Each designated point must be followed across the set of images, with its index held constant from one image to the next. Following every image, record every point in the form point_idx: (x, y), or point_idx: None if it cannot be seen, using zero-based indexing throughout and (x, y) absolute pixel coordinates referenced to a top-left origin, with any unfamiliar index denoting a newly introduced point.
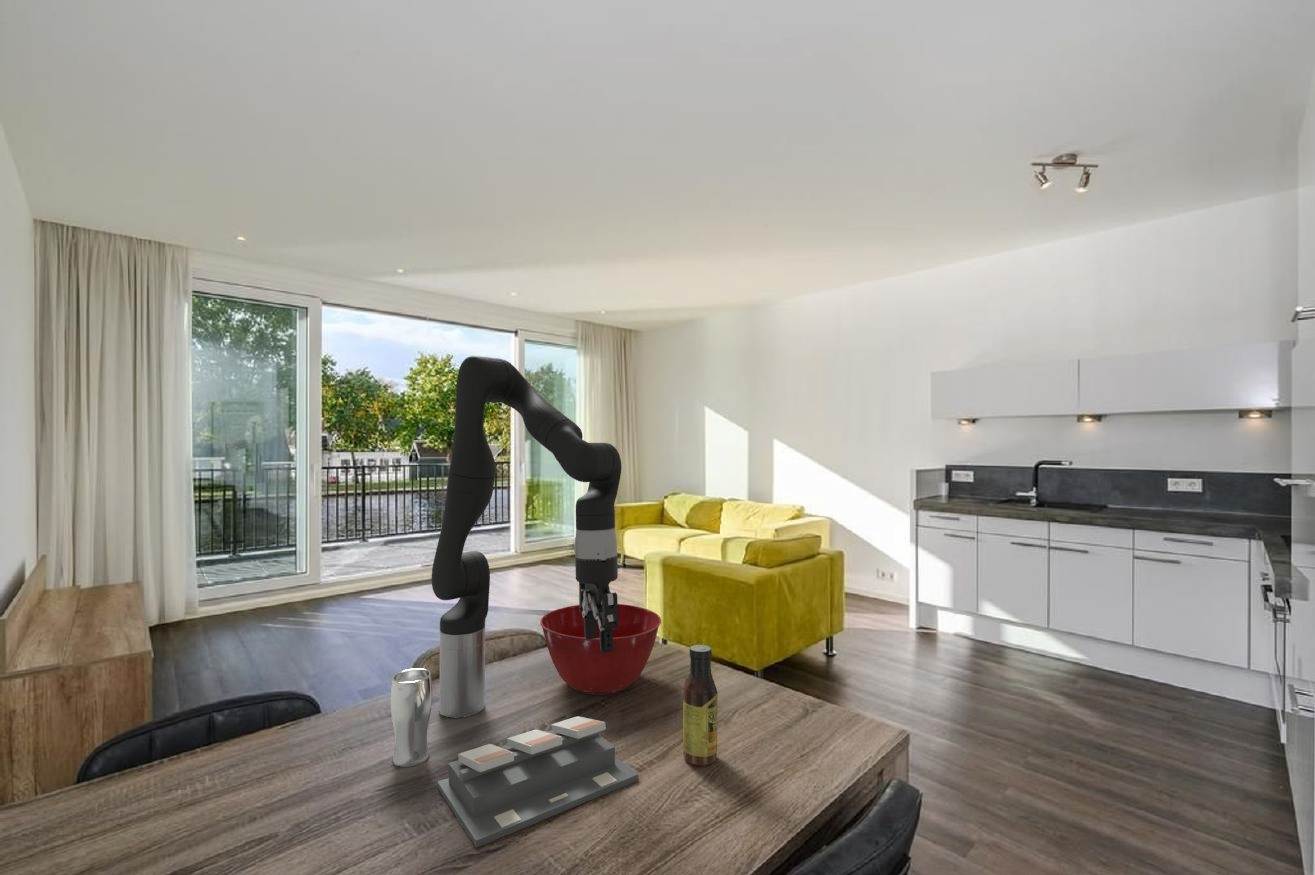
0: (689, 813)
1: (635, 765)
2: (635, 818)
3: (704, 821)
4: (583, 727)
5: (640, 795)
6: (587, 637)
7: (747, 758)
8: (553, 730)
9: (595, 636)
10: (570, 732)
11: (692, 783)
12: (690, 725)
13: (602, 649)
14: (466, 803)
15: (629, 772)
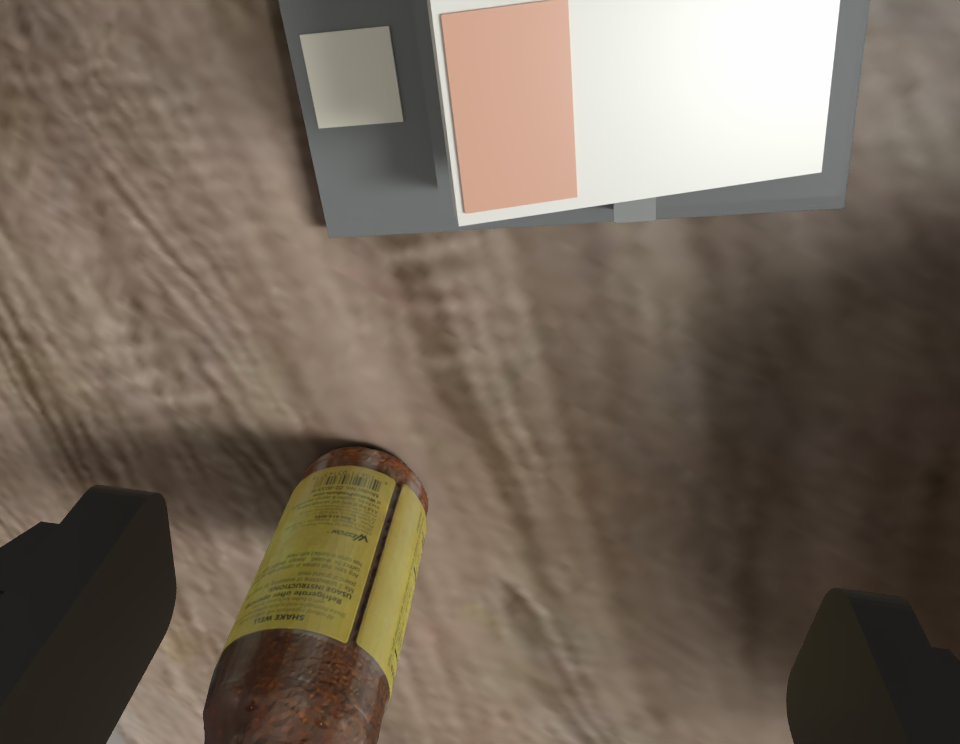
0: (66, 273)
1: (449, 277)
2: (90, 78)
3: (11, 289)
4: (468, 68)
5: (232, 179)
6: (837, 617)
7: None
8: None
9: (797, 702)
10: None
11: (233, 384)
12: (290, 554)
13: (75, 518)
14: None
15: (359, 212)
